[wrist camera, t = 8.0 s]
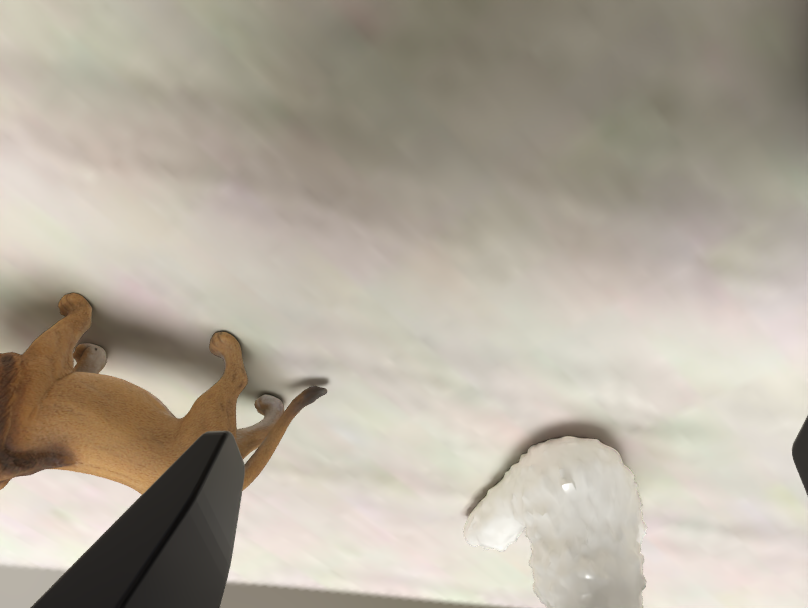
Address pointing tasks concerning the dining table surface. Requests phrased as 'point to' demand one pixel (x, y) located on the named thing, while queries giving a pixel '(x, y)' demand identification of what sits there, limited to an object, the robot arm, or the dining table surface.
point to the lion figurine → (118, 411)
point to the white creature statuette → (569, 523)
